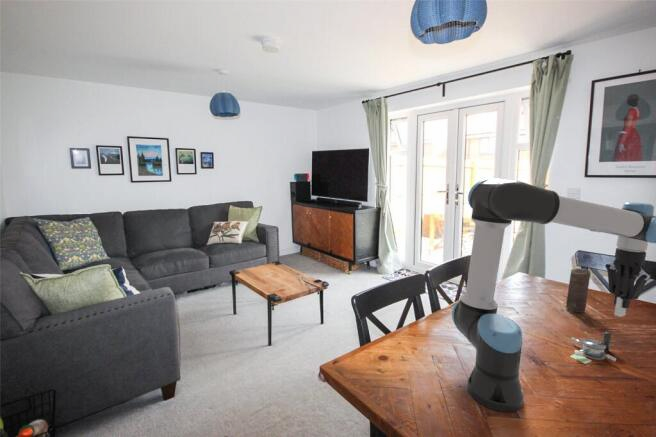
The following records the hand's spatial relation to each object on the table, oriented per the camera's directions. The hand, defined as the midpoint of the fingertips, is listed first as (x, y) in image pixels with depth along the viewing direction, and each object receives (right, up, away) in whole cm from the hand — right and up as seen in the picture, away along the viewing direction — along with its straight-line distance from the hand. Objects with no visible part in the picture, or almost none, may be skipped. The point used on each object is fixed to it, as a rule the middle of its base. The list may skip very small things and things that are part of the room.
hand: (619, 315), depth 114 cm
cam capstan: (-6, -15, +5) cm, 17 cm away
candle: (+15, -10, +41) cm, 45 cm away
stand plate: (-4, -16, +5) cm, 18 cm away
